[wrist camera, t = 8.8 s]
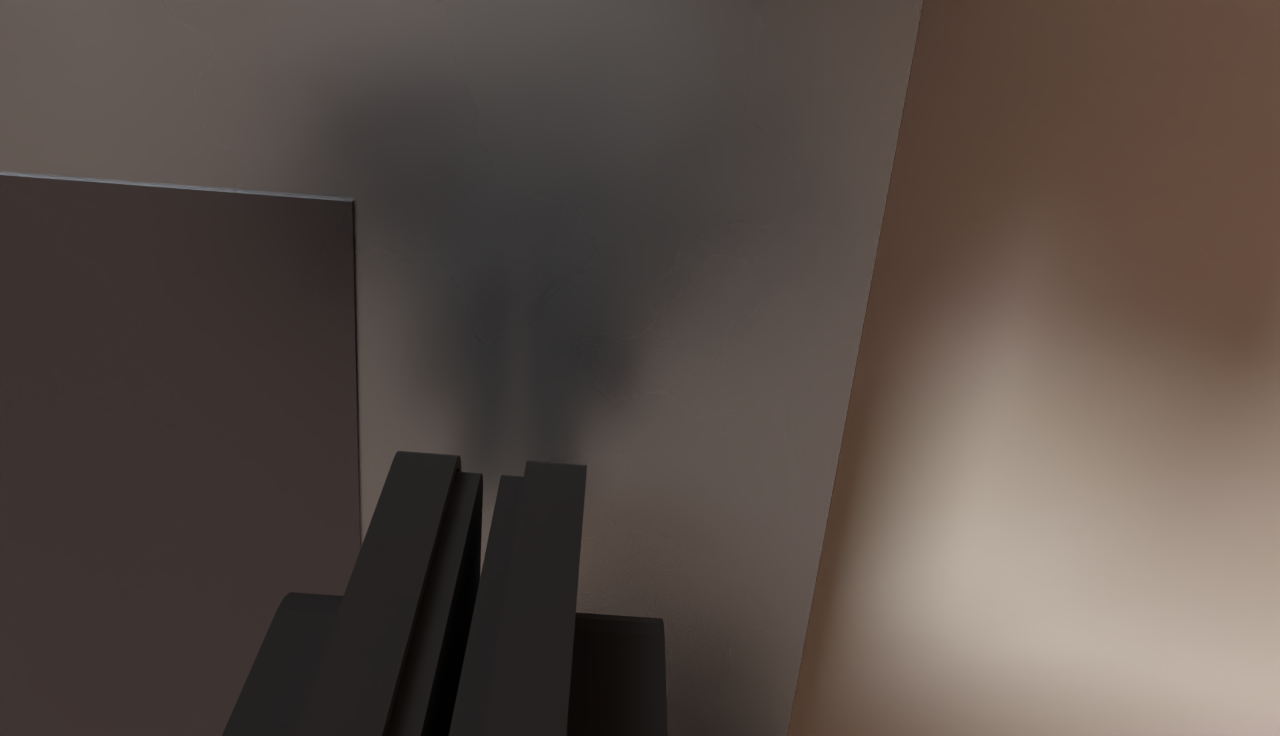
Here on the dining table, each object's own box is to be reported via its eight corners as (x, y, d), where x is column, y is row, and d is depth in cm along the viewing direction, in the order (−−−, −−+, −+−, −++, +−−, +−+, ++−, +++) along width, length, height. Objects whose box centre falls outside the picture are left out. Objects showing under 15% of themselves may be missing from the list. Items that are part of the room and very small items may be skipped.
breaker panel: (-929, -328, 11) (-1426, -373, 9) (877, -157, 12) (951, -146, 10) (-463, 749, 17) (-666, 926, 15) (723, 807, 18) (742, 982, 16)
